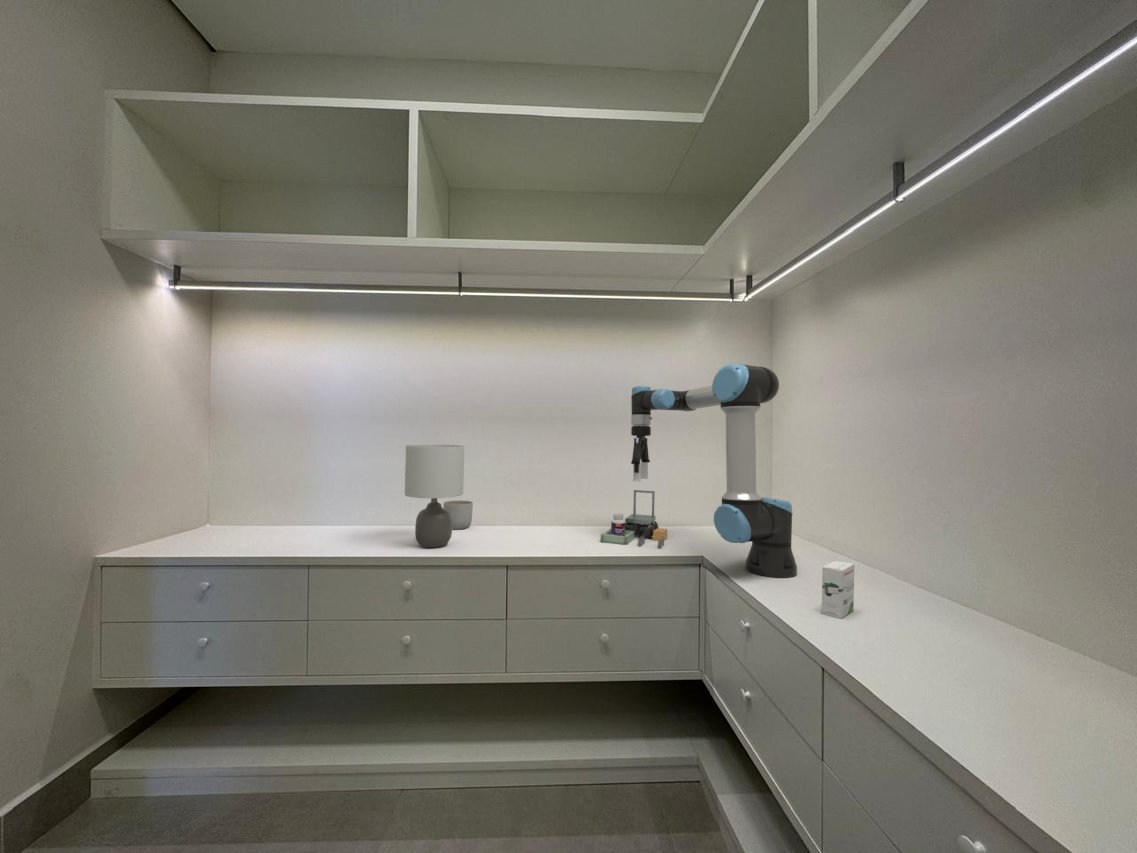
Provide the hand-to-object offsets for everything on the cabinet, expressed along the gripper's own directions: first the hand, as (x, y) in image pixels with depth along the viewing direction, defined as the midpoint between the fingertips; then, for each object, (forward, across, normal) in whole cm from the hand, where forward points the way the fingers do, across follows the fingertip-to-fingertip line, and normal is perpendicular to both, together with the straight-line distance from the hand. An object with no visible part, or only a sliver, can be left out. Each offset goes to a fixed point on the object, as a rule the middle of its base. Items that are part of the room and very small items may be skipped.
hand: (640, 480), depth 196 cm
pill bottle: (+24, 0, +9) cm, 25 cm away
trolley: (+24, +13, +3) cm, 27 cm away
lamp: (+24, -38, +69) cm, 82 cm away
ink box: (+26, -54, -61) cm, 85 cm away
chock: (+24, +8, -6) cm, 27 cm away
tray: (+24, 0, +9) cm, 26 cm away
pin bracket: (+24, -4, -5) cm, 25 cm away
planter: (+23, -6, +79) cm, 82 cm away
